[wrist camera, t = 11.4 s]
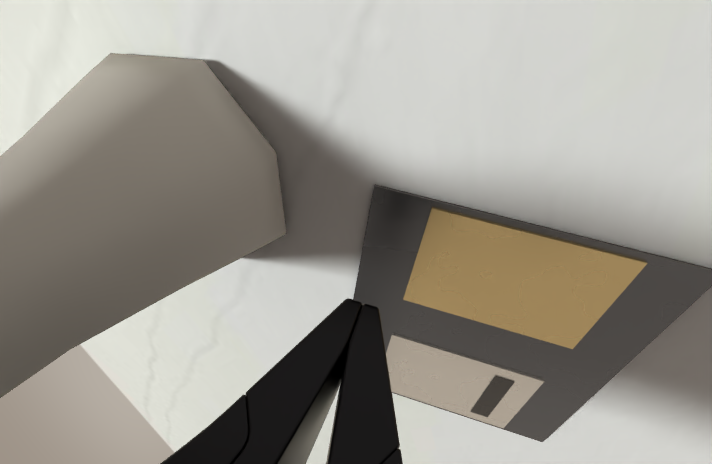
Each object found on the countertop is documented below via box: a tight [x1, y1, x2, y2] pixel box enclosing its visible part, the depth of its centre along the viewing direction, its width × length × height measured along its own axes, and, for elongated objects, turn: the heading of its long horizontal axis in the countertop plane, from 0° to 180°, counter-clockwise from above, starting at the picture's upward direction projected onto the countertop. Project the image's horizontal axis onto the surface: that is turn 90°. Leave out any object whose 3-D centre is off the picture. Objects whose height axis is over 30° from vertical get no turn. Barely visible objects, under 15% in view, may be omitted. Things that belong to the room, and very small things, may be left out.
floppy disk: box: [353, 185, 712, 442], centre depth 12 cm, size 10×9×1 cm
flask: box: [0, 53, 287, 398], centre depth 8 cm, size 7×7×10 cm
